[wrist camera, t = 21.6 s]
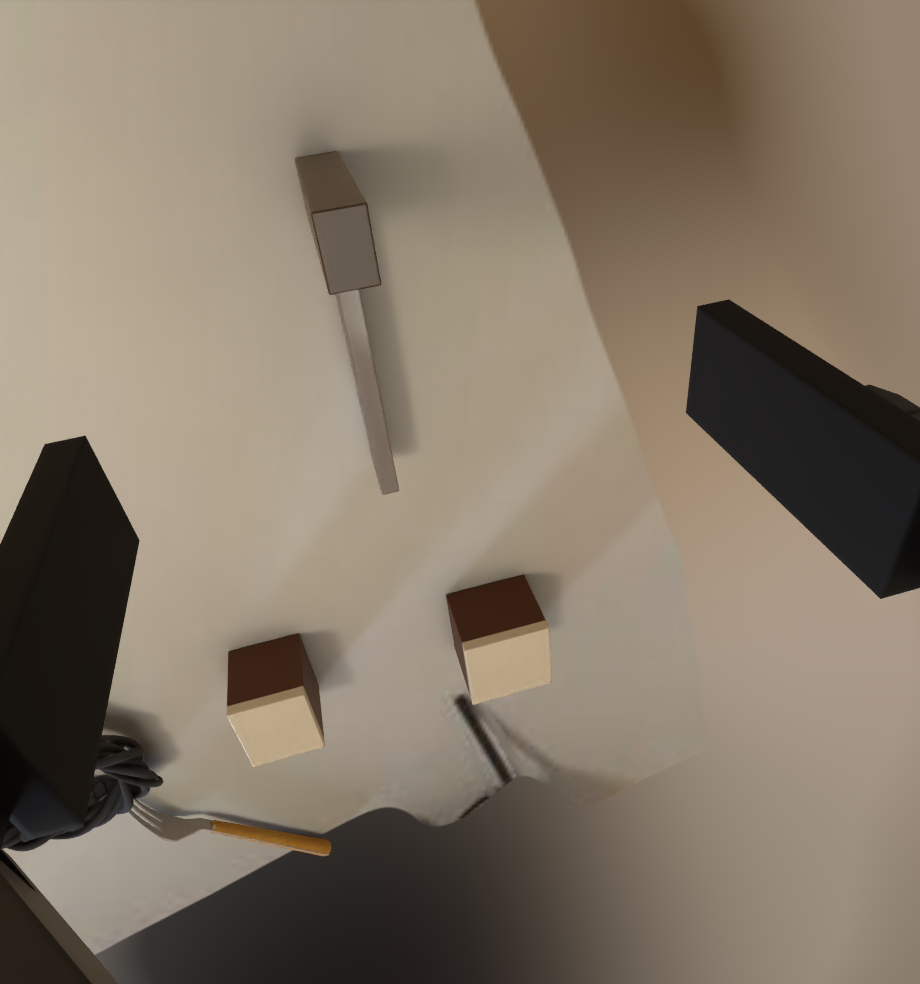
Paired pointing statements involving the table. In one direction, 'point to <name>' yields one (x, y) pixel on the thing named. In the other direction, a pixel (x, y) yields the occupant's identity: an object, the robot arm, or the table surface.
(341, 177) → the long brown beam
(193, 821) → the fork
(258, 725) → the cake slice
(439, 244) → the table surface
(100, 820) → the cable
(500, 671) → the cake
